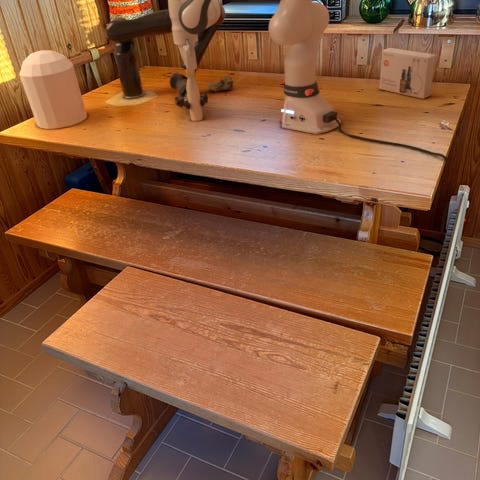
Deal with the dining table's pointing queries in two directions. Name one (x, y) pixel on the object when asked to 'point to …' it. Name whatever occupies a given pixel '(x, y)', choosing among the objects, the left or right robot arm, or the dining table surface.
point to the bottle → (194, 99)
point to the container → (52, 90)
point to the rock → (221, 84)
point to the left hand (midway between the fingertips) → (196, 105)
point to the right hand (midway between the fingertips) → (190, 76)
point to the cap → (188, 72)
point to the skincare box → (407, 72)
